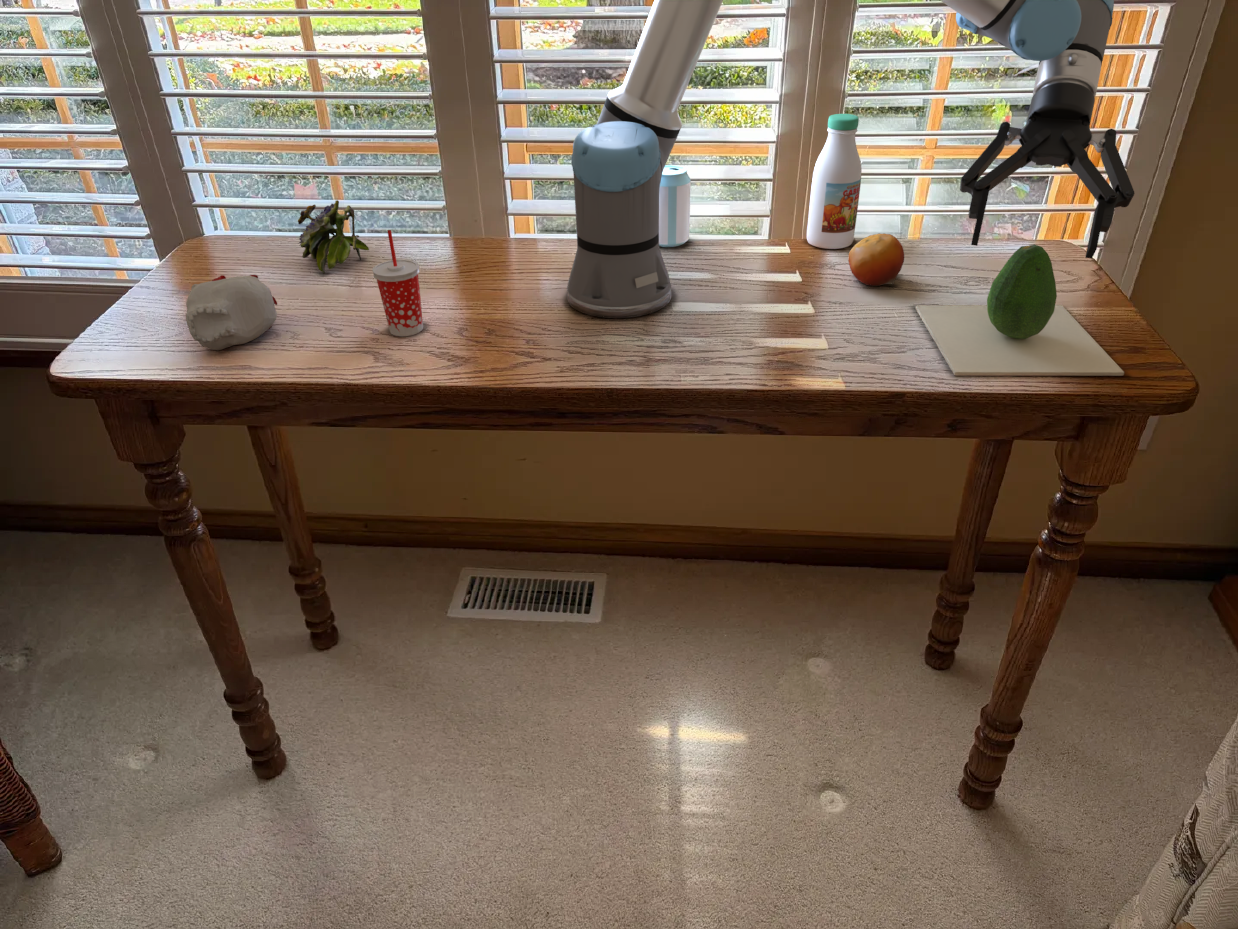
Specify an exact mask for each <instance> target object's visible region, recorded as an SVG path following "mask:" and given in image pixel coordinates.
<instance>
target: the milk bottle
mask: <svg viewBox="0 0 1238 929" xmlns="http://www.w3.org/2000/svg"><path fill="white" fill-rule="evenodd" d="M859 118H860V117H859V116H857V115H855V114H851V113H835V114H831V115H829V116H828V119H827V133H828V134H827V138H826V140H825V141H826V142H825V143H824V146H823V148H822V150H821V152H820V153H819V155H818V157H817V159H816V162H815V166H814V168H813V172H812V180H811V181H812V182H811V188H810V198H809V208H808V216H807V217H808V218H807V227H806V241H807V243H808V244H809V245H811V246H813V247H817V248H820V249H826V250H827V249H829V250H837V249H843V248H848V247H849V246H851V245H852V244H853V242H854V239H855V234H856V233H855V231H856V224H857V217H858V209H859V201H860V192H861V183H862V162H861V157H860V155H859V154H860V153H859V151H858V148H857V142H856V133H857V132H858V128H859V121H860V120H859Z"/></svg>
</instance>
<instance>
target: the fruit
mask: <svg viewBox="0 0 1238 929" xmlns="http://www.w3.org/2000/svg"><path fill="white" fill-rule="evenodd" d="M847 258H848V260H847V261H848V265H849V268H850V271H851V274H852V275H853V277H854V278H855V279H857V280H858V282H860V283H862V284H864V285H866V286H870V287H878V286H879V287H880V286H883V285H894V283H895V280H896V279H897V277H898V275H899V274H900V272H901V270H902V268H903V265H904V263H905V250H904V247H903V245H902V243H901V241H900V240H899V239H898V238H897V237H896V236H894V235H893V234H890V233H875V234H870V235H868V236H866V237H864V238H862V239H861V240H859V241H858V242H856V244H854V245H853V247H852V248H851V249H850V250H849V252H848V257H847Z"/></svg>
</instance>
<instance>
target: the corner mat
mask: <svg viewBox="0 0 1238 929" xmlns="http://www.w3.org/2000/svg"><path fill="white" fill-rule="evenodd" d="M915 310H916V312H917V314H918V316H919V317H920V319H921V320H922V322H923V324H924V326H925V328H926V329H927V331H928V333H929V335H930V336H931V338H932V339H933V341H934V343H935V345H936V346H937V348H938V350H939V352H940V353H941V355H942V357H943V358H944V360H945V362H946V364H947V365H948V367H949V369H950V370H951V372H952V374H953V375H954V376H957V377H959V376H960V377H961V376H964V377H965V376H967V377H968V376H970V377H971V376H975V377H976V376H977V377H978V376H980V377H983V376H985V377H986V376H987V377H991V376H993V377H994V376H996V377H997V376H999V377H1000V376H1002V377H1003V376H1004V377H1005V376H1006V377H1007V376H1009V377H1010V376H1011V377H1012V376H1014V377H1015V376H1017V377H1018V376H1019V377H1021V376H1024V377H1025V376H1026V377H1027V376H1028V377H1029V376H1031V377H1034V376H1038V377H1043V376H1046V377H1047V376H1048V377H1050V376H1051V377H1055V376H1057V377H1058V376H1059V377H1062V376H1063V377H1071V376H1072V377H1088V376H1089V377H1094V376H1096V377H1100V376H1101V377H1108V376H1109V377H1122V376H1124V375H1125V371H1124V370H1123V369H1122V368H1121V367H1120V366H1119V365H1118V364H1117V362H1115V361H1114V359H1112V357H1111V356H1110V355H1109V354H1108V353H1107V352H1106V351H1105V350H1104V349H1103V348H1102V346H1101V345H1100V344H1099V343H1098V342H1097V341H1096V340H1095V339H1094V338H1093V337H1092V336H1091V335H1090V334H1089V332H1087V330H1086V329H1084V327H1083V326H1082V325H1081V323H1079V321H1077V320H1076V319H1075V318H1074V316H1073V315H1072V314H1071V313H1070V312H1069V311H1068V310H1067V309H1066V308H1065V307H1064V306H1063V304H1055V309H1054V313H1053V314H1052V316H1051V318H1050V319H1049V321H1048V323H1047V325H1046V326H1045V327H1044V328H1043V330H1041V331H1040V332H1039V333H1038V334H1036V335H1034V336H1031V337H1029V338H1026V339H1016V338H1011V337H1009V336H1006V335H1004V334H1002V333H1001V332H999V331H998V330H997V329H996V328H995V327H994V325H993V324H992V323H991V321H990V319H989V315H988V310H987V304H917V305H915Z"/></svg>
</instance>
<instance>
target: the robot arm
mask: <svg viewBox="0 0 1238 929" xmlns="http://www.w3.org/2000/svg"><path fill="white" fill-rule="evenodd" d="M939 1H940V2H942V3H943V4H944V5H946V6H947V7H948V8H950V9H951V10H953V11H955V12H956V14H955V21H956V25H957V26H958V27H959V28H960V29H963V30H966V31H969V32H971V33H972V34H973V35H980V36H983V37H985V38H987V39H991V40H993V41H994V42H996V43H997V44H999V45H1001V46H1003V47H1004V48H1007V49H1008V50H1010V51H1011V52H1013V53H1014V54H1015V55H1016V56H1018V57H1019V58H1021V59H1023V60H1026V61H1033V62H1038V67H1037V72H1036V76H1035V82H1034V85H1033V90H1032V97H1031V99H1030V103H1029V109H1028V113H1027V118H1026V123H1025V125H1024V126H1023V127H1022V128H1019V127H1013V126H1011V123H1010V122H1009V121H1003V122H1002V123H1000V125H999V128H998V131H997V133H996V136H995V138H993V140H992V141H991V142H990V143H989V144H988V146H987V147H986V148H985V149H984V150H983V151H982V153H981V154H980V155H979V156H978V157H977V159H976V160H975V161H974V162H973V163H972V164H971V166H970V167H969V168H968V169H967V170H966V172H965V173H964V174H963V175H962V176H961V179H960V185H959V191H960V192H961V193H963V194H964V193H968V194H969V195H971V200H970V204H969V208H968V213H967V214H968V219H971V220H975V225H974V229H973V234H972V239H971V244H970V245H971V246H974V247H977V246H978V244H979V239H980V236H981V230H982V226H983V221H984V217H985V213H986V208H987V204H988V203H987V202H988V199H989V195H990V194H989V193H990V191H992V190H993V189H994V188H995V187H997V186H998V185H1000V184H1001V183H1002V182H1004V181H1005V180H1006V179H1008V178H1009V177H1010V176H1011V175H1013V174H1014V173H1016V172H1017V171H1018V170H1019V169H1022V168H1025V166H1028V165H1029V163H1031V162H1032V163H1034V164H1035V166H1047V165H1049V166H1051V167H1052V166H1053V167H1056V168H1062V166H1064V165H1067V167H1068V168H1069V169H1070V171H1071V172H1072V173H1075V174H1076V175H1077V177H1078V178H1079V179H1080V181H1081V182H1082V183H1083V185H1084V186H1085V187H1086V189H1087V190H1088V191H1089V192H1090V193H1091V195H1092V196H1093V198H1094V199H1095V201H1096V202H1097V205H1096V207H1095V209H1094V212H1093V217H1092V223H1091V228H1090V232H1089V236H1088V237H1089V238H1088V242H1087V247H1086V252H1085V256H1084V258H1085V259H1093V257H1094V255H1095V253H1096V252H1097V249H1098V246H1099V239H1100V235H1101V233H1107V232H1108V231H1109V230H1110V228H1111V226H1112V223H1113V218H1114V214H1115V209H1116V208H1119V207H1121V208H1127V207H1128V206H1129V205H1130V204H1131V201H1132V200H1133V198H1134V196H1135V190H1134V188H1133V185H1132V182H1131V180H1130V177H1129V175H1128V173H1127V169H1126V167H1125V164H1124V162H1123V160H1122V157H1121V155H1120V152H1119V149H1118V147H1117V144H1116V142H1117V130H1116V129H1114V128H1109V129H1107V130H1106V131H1105V132H1103V133H1102V132H1100V133H1092V131H1091V126H1090V125H1091V121H1092V117H1093V111H1094V108H1095V107H1094V106H1095V102H1096V95H1097V92H1098V87H1099V81H1100V76H1101V70H1102V66H1103V61H1104V56H1105V53H1106V52H1105V51H1106V47H1107V43H1108V39H1109V34H1110V30H1111V27H1112V24H1113V19H1114V18H1113V14H1114V6H1115V0H939ZM723 2H724V0H654V1H653V3H652V6H651V9H650V11H649V13H648V16H647V19H646V22H645V25H644V27H643V30H642V33H641V35H640V38H639V41H638V44H637V46H636V48H635V51H634V55H633V57H632V59H631V61H630V64H629V66H628V70H627V73H626V75H625V77H624V80H623V83H622V84H621V85H619V86H618V87H616V88H614V89H612V90H609V91H608V93H607V96H606V99H605V101H604V104H603V106H602V109H601V112H600V113H599V114H600V115H599V117H598V121H597V122H596V124H593V125H592V127H591V126H589V127H586V128H584V129H583V130H581V131H580V132H579V133H578V134H577V135H576V136H575V138H574V140H573V143H572V154H571V158H570V160H571V161H570V162H571V168H572V172H573V189H574V208H575V210H574V211H575V224H576V225H575V230H576V252H575V256H574V259H573V262H572V265H571V266H572V267H571V270H570V273H569V278H568V281H567V286H566V295H567V302H568V304H569V306H571V307H572V308H573V309H575V310H576V311H578V312H580V313H583V314H585V315H589V316H592V317H597V318H607V319H628V318H636V317H641V316H646V315H648V314H649V315H650V314H652V313H653V314H654V313H655V312H657V311H659V310H662V309H663V308H665V307H666V306H667V305H668V304H669V303H670V301H671V300H672V282H671V278H670V274H669V273H668V269H667V267H666V264H665V259H664V256H663V254H662V251H661V248H660V246H659V188H660V183H661V178H662V173H663V170H664V167H665V165H667V162H668V161H669V158H670V155H671V154H672V151H673V148H674V146H675V143H676V141H677V138H678V136H679V134H680V132H681V129H682V126H683V123H682V120H681V117H680V115H679V110H678V109H679V107H680V105H681V102H682V100H683V98H684V95H685V92H686V90H687V88H688V85H689V83H690V81H691V78H692V76H693V73H694V71H695V68H696V67H697V64H698V61H699V59H700V56H701V55H702V52H703V50H704V47H705V45H706V42H707V40H708V38H709V35H710V33H711V30H712V28H713V26H714V23H715V20H716V19H717V16H718V14H719V11H720V9H721V6H722V4H723ZM1016 140H1018V142H1019V144H1020V147H1018V149H1017V150H1016V151H1015V152H1014V153H1013V154H1011V155H1010V156H1008V157H1007V158H1006V159H1005V160H1004V161H1002V162H1001V163H999V164H998V165H997V166H996V167H994V168H992V169H991V170H990V171H988V173H986V174H984V173H985V172H986V171H987V170H988V168H989V167H990V166H991V165H992V163H994V161H995V160H996V159H997V158H998V157H999V156H1000V154H1001V153H1002V151H1003V150H1004V148H1005V146H1006V147H1008V146H1009V145H1011V144H1012V143H1013V142H1014V141H1016ZM1089 146H1093V147H1094V149H1095V151H1096V153H1098V154H1100V159H1101V163H1102V165H1103V168H1104V170H1105V173H1106V175H1107V178H1108V180H1106V178H1105V177H1104V176H1103V174H1102V172H1100V170H1099V169H1098V168H1097V166H1096V165H1095V164H1094V162H1093V161H1092V160H1091V159H1090V157H1089V154H1088V152H1087V150H1086V149H1087V148H1088V147H1089ZM983 174H984V176H982V175H983ZM1108 181H1109V182H1108ZM1109 183H1110V184H1109Z"/></svg>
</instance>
